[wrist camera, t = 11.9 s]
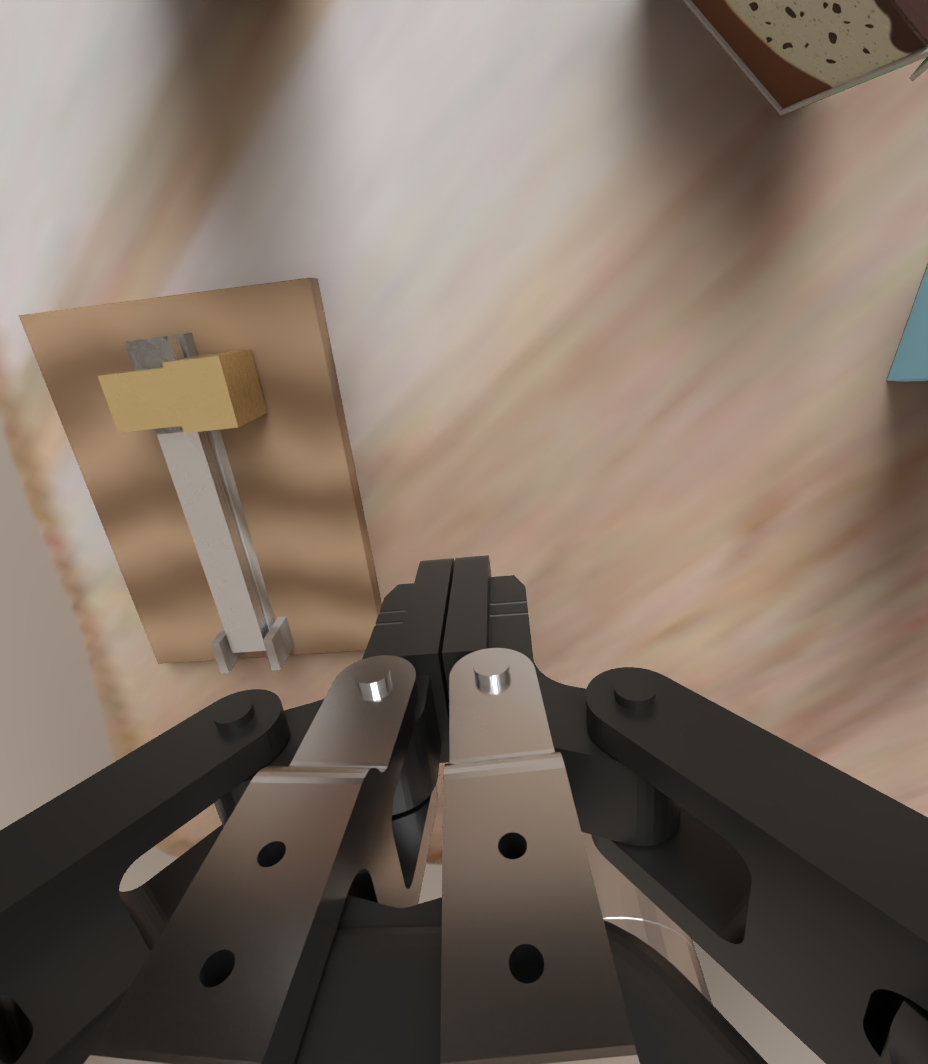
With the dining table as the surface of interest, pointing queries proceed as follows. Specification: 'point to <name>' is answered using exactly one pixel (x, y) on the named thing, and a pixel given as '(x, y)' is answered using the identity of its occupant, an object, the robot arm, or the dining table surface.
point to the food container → (816, 43)
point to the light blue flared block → (914, 342)
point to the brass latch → (187, 394)
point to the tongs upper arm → (207, 512)
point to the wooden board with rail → (225, 471)
